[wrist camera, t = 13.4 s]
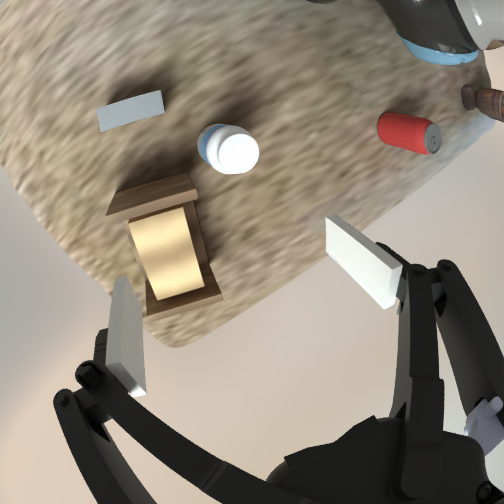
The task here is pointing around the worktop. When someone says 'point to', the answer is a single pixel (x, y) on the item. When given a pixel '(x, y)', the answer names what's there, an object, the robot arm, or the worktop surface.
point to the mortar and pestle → (485, 101)
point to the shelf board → (166, 251)
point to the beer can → (410, 133)
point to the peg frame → (185, 192)
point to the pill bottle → (228, 148)
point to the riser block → (130, 110)
